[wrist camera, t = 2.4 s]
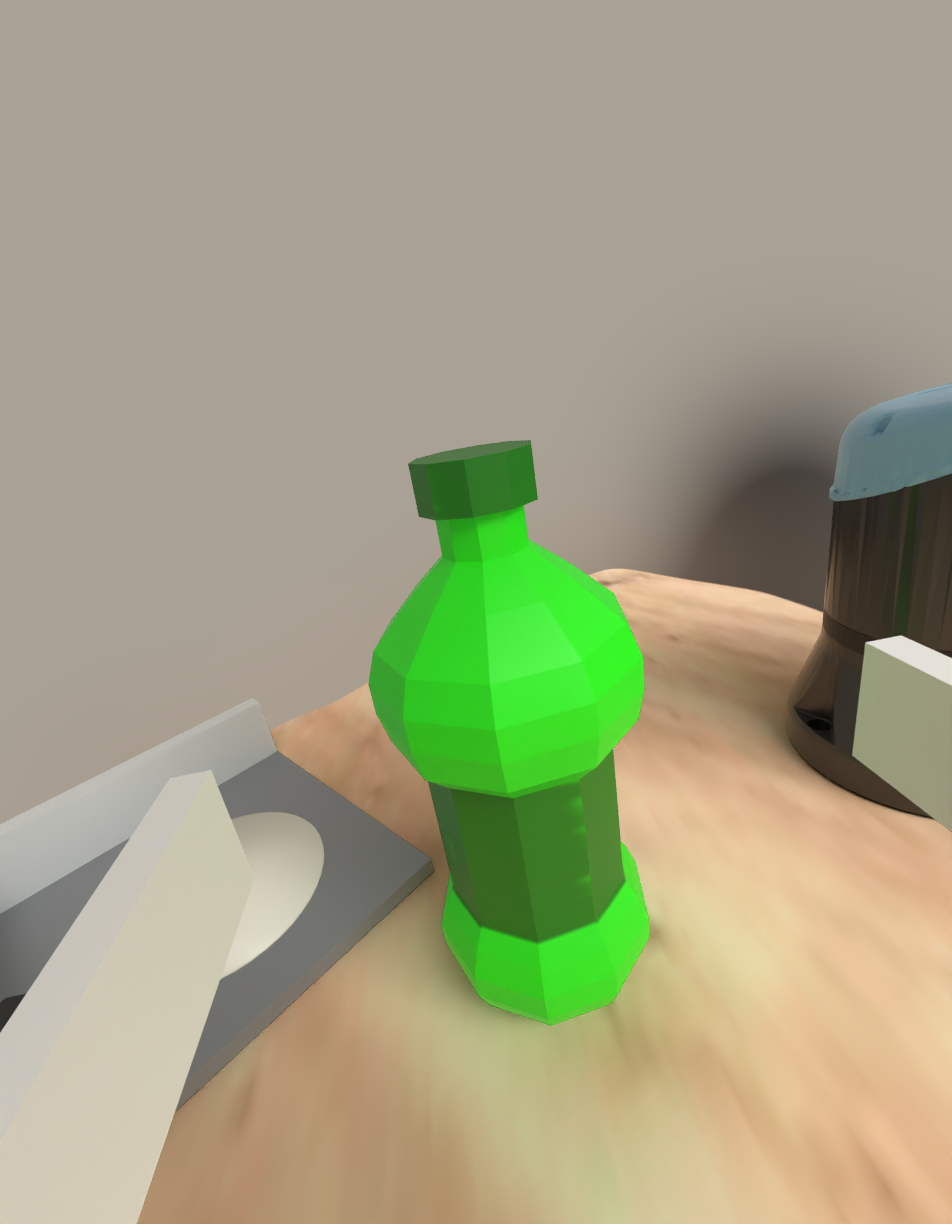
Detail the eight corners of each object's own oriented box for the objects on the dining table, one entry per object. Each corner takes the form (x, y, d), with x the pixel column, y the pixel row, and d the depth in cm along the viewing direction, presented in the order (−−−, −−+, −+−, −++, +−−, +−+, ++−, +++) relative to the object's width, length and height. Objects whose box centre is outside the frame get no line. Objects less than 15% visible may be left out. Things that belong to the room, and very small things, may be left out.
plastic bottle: (435, 905, 31) (320, 469, 22) (603, 851, 33) (561, 423, 24) (473, 1109, 22) (301, 504, 13) (704, 1020, 24) (700, 425, 14)
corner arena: (272, 754, 48) (252, 697, 46) (434, 870, 33) (414, 794, 31) (-41, 939, 35) (-92, 870, 32) (-6, 1279, 20) (-97, 1195, 17)
